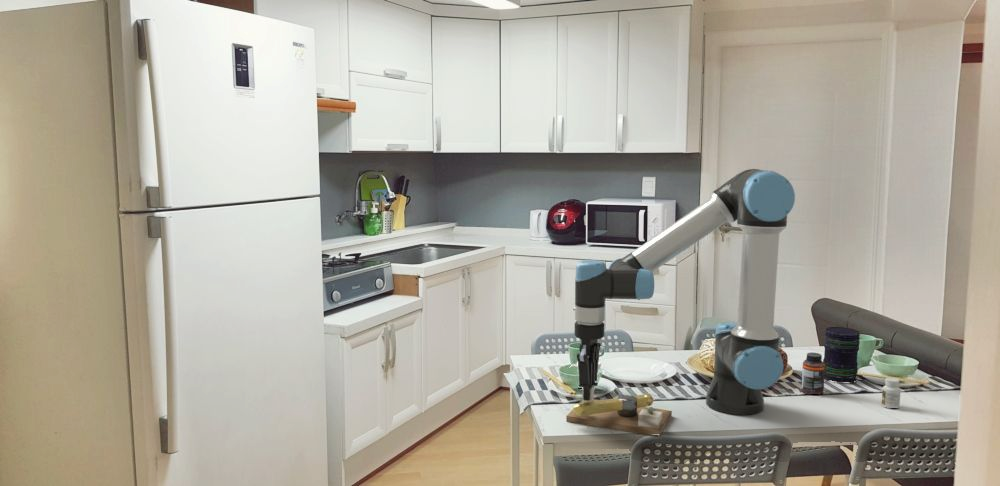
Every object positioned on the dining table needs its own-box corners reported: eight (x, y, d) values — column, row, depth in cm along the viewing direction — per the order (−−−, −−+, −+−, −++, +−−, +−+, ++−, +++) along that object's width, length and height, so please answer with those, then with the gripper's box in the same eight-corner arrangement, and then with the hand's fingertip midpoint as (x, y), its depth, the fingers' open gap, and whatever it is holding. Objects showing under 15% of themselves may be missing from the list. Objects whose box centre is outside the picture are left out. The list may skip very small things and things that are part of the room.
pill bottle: (882, 402, 215) (884, 375, 214) (899, 405, 213) (902, 378, 212) (880, 407, 211) (882, 380, 210) (898, 410, 209) (900, 383, 208)
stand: (671, 416, 204) (672, 394, 203) (659, 436, 190) (659, 412, 189) (584, 403, 213) (584, 381, 212) (566, 421, 200) (566, 398, 199)
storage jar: (831, 371, 243) (834, 325, 241) (862, 379, 235) (866, 331, 233) (815, 377, 237) (818, 330, 235) (846, 385, 229) (850, 336, 227)
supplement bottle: (811, 387, 227) (814, 350, 226) (828, 393, 222) (830, 355, 220) (796, 390, 225) (798, 352, 223) (812, 396, 220) (815, 358, 218)
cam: (646, 406, 206) (647, 391, 205) (657, 412, 201) (657, 396, 200) (569, 417, 197) (569, 401, 197) (578, 424, 193) (578, 408, 192)
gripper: (583, 314, 203) (581, 400, 207) (567, 325, 191) (565, 417, 195) (611, 317, 200) (609, 404, 204) (596, 329, 188) (594, 421, 192)
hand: (587, 410), depth 199 cm, fingers closed
